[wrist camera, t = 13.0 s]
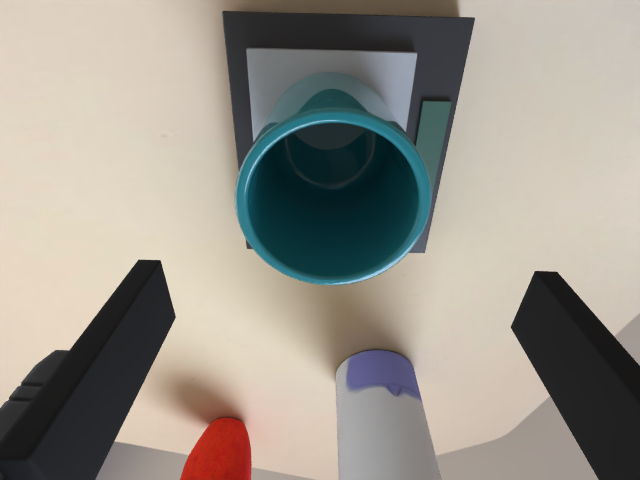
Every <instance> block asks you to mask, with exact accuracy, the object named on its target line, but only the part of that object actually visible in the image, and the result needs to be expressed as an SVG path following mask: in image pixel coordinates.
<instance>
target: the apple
mask: <svg viewBox="0 0 640 480" xmlns="http://www.w3.org/2000/svg"><path fill="white" fill-rule="evenodd" d="M180 480H251V447H250V441H249V436H248V432H247V430H246V427H245V425H244V423H242V422H241V421H239V420H237V419H234V418H219V419H216V420H215V421H213V422H212V423H211V424H210V425H209V426H208V428H207V429H206V430H205V432H204V433H203V434H202V436H201V437H200V439H199V440H198V442H197V443H196V445H195V447H194V448H193V450H192V451H191V453H190V455H189V457H188V459H187V461H186V463H185V466H184V469H183V472H182V475H181V479H180Z"/></svg>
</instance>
